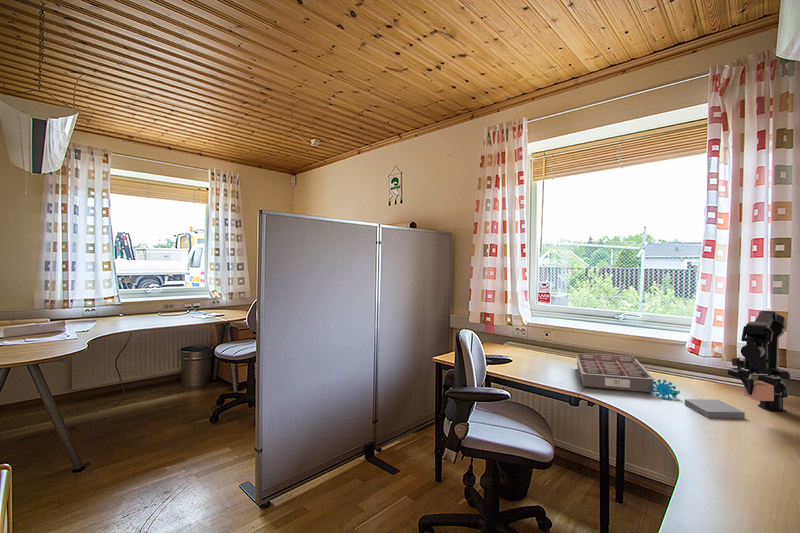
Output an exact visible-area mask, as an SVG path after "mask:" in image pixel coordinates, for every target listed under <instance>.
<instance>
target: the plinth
mask: <svg viewBox="0 0 800 533" xmlns="http://www.w3.org/2000/svg"><path fill="white" fill-rule="evenodd" d="M684 405H685V406H686V407H687V408H690V409H691V410H693V411H695V412H697V413H698V414H699V415H702V416H703V417H705V418H706V419H745V413H746V412H745V411H743V410H740V409H739V408H737V407H735V406H733V405H730V404H728V403H726V402H724V401H722V400H720V399H701V398H700V399H694V398H693V399H692V398H691V399H690V398H688V399H687V398H685V399H684Z"/></svg>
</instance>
